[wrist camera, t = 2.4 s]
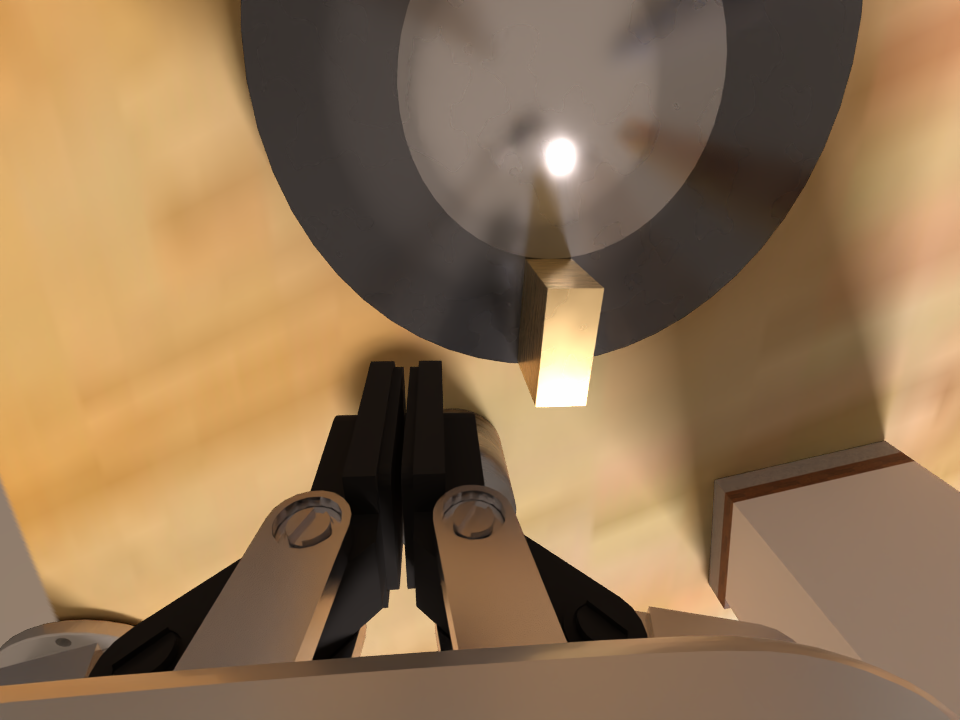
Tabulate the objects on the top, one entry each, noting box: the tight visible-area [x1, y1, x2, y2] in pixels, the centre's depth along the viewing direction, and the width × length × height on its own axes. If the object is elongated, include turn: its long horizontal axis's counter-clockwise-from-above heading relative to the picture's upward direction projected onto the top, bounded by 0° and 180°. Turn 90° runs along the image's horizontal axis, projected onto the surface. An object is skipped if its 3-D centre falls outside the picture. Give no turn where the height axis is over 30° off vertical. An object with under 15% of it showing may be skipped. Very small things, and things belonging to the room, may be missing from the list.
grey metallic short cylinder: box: [403, 409, 516, 545], centre depth 24 cm, size 6×6×5 cm
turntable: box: [241, 0, 862, 407], centre depth 16 cm, size 22×22×6 cm
